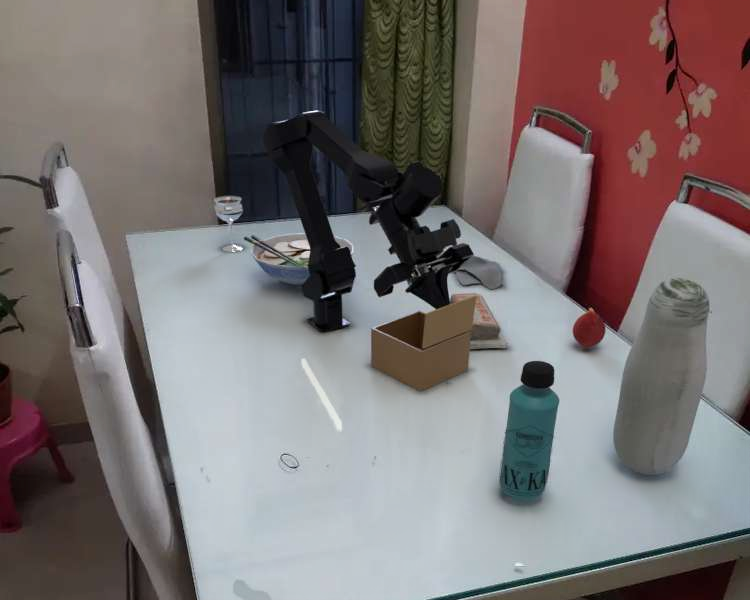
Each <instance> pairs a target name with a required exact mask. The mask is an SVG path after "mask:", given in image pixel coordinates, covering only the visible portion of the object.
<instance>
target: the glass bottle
mask: <svg viewBox="0 0 750 600" xmlns="http://www.w3.org/2000/svg"><path fill="white" fill-rule="evenodd" d="M709 313H710V299H709V296H708V294H707V292H706V290H705V289H704V287H702V286H701V285H700V284H699V283H697V282H694V281H692V280H689V279H686V278H683V277H673V278H669V279H666V280H664V281H662V282H660V283H659V284H657V285H656V287H655V288H654V290H653V291H652V292H651V294H650V297H649V298H648V301H647V305H646V309H645V313H644V315H643V316H644V317H643V320H642V323H641V326H640V328H639V330H638V333H637V334H636V337H635V339H634V340H633V342H632V345H631V347H630V349H629V351H628V355H627V357H626V360H625V363H624V367H623V371H622V377H621V383H620V390H619V395H618V402H617V409H616V412H615V413H616V414H615V419H614V423H613V424H614V425H613V432H612V439H613V442H612V443H613V447H614V450H615V453H616V455H617V457H618V458H619V460H620V461H621V463H622V464H624V465H625V467H627V468H628V469H630V470H632V471H634V472H636V473H638V474H641V475H644V476H646V475H647V476H656V475H660V474H664V473H667V472H669V471H672V469H674V468H675V467H676V466H677V464H678V463H679V462H680V461H681V459H682V458H683V456H684V454H685V452H686V450H687V448H688V445H689V442H690V439H691V435H692V431H693V427H694V423H695V421H696V417H697V412H698V409H699V405H700V402H701V399H702V394H703V391H704V386H705V382H706V378H707V365H708V359H707V358H708V357H707V356H708V355H707V331H708V330H707V327H708V317H709Z"/></svg>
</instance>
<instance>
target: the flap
mask: <svg viewBox="0 0 750 600" xmlns="http://www.w3.org/2000/svg"><path fill="white" fill-rule="evenodd" d="M475 303H476V295H474V296H471V297H469V298H466V299H463V300H461V301H458V302H455V303H452V304H450V305H447V306H444V307H442V308H439V309H433V310H432V311H429V312H425V313H426V314H425V324H424V334H423V344H422V348H423V349H424V348H427V347H429V346H432V345H434V344H437V343H439V342H442V341H444V340H446V339H449V338H451V337H454V336H456V335H459V334H461V333H464V332H466V331H469V330H471V329H472V325H473V318H474V310H475Z"/></svg>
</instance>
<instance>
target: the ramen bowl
mask: <svg viewBox="0 0 750 600" xmlns="http://www.w3.org/2000/svg"><path fill="white" fill-rule="evenodd" d="M334 238H335V241H336V242H337V243H338V244H339V245H340V246H341V247H342V248H343V247H346V246H347V247H348V248H349V249H350V252H351V256H353V255H354V244H353V243H351V242H350V241H349V240H347V239H345V238H342V237H339V236H336V235H334ZM243 240H244V241H246V242H248V243H250V244H251V245H252V247H251V250H250V254H251V256H252V258H253V259H254V261H255V262H256V263H257V264H258V265H259V267H260V268H261V269H262V271H263V272H264V273H266V275H267V276H268V277H270V278H272V279H274V280H277V281H279V282H281V283H285V284H289V285H292V286H296V287H301V285H302V284H303V283H304V282H305V281H306V280H307V278H308V277H309V276H310V274H309V270H308V261H309V256H310V246H309V243H308V240H307V237H306V234H305V232H299V233H297V232H296V233H287V234H280V235H274V236H272V237H269V238H265V239H261V238H259V237H258V236H256V235H254V234H253V235H252V234H251V235H250V237H248V236H243Z"/></svg>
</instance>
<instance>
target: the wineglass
mask: <svg viewBox="0 0 750 600" xmlns="http://www.w3.org/2000/svg"><path fill="white" fill-rule="evenodd" d="M213 202H214V203H215V204H214V212H215V214H216V216H217V217H218V218H219V219H220V220H222V221H225V222H226V223H227V224H228V230H229V236H230V245H226V246H224V247H222V251H224V252H228V253H229V252H231V253H232V252H233V253H235V252H239V251H242V250H243V249H244V248H243V246H241V245H239V244H234V238H233V237H234V236H233V223H234V221H237V220H238V219H239V218H240V217H241V215H242V214H243V211H244V209H243V208H244V207H243V204H242V203H241V202H242V197H240V196H237V195H236V196H235V195H223V196H218V197H215V198H214V199H213Z"/></svg>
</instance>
